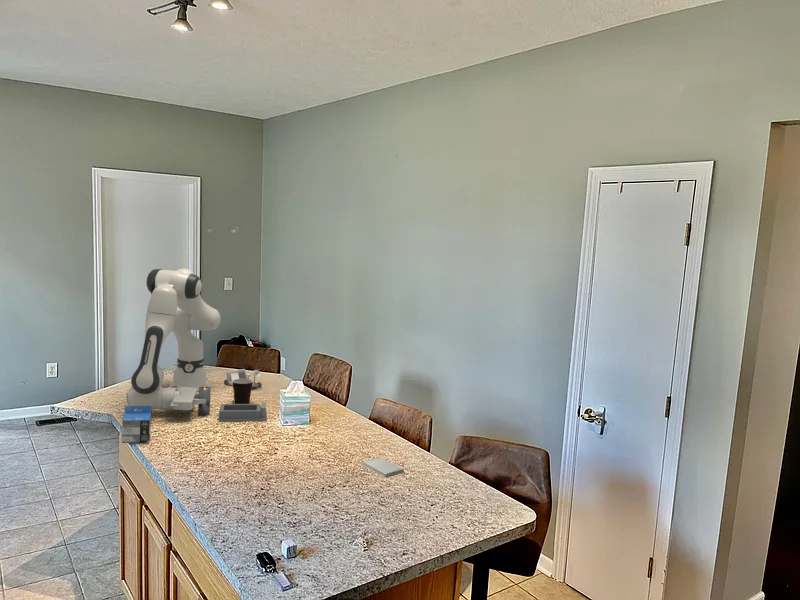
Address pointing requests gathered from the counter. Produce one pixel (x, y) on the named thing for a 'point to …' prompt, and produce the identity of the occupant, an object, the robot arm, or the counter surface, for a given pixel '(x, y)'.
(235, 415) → the cradle
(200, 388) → the cell
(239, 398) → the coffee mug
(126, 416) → the label tape cartridge
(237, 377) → the toy lunar rover
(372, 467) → the hard drive
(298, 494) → the counter surface
